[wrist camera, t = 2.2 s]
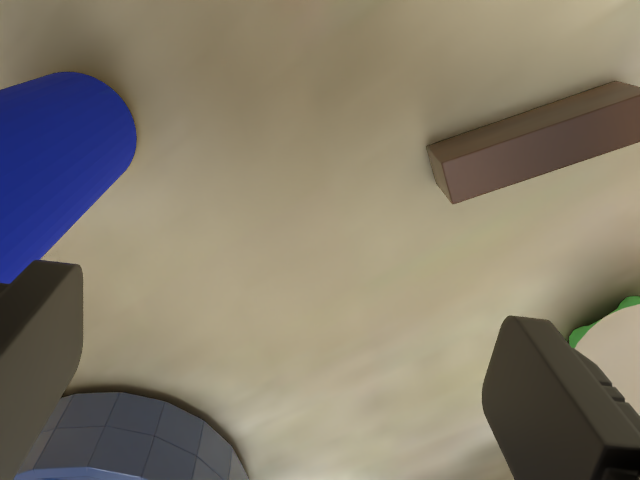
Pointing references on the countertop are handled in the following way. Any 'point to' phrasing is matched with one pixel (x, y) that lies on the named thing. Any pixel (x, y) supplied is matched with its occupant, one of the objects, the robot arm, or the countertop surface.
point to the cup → (615, 348)
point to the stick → (537, 141)
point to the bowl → (127, 442)
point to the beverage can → (56, 160)
